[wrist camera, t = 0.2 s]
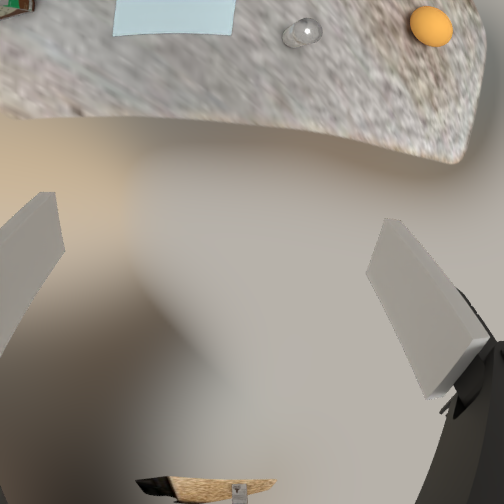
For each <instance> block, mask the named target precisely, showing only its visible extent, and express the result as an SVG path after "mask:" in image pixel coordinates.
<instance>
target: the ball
mask: <svg viewBox="0 0 504 504" xmlns="http://www.w3.org/2000/svg"><path fill="white" fill-rule="evenodd" d="M410 27H411V30H412V32H413V34H414V35H415V37H416V38H417V39H418V40H419V41H421V42H422V43H424V44H426V45H428V46H432V47H440V46H443V45H445V44H447V43H448V42H449V41H450V39H451V37H452V34H453V28H452V24H451V21H450V20H449V18H448V17H447V15H446V14H445V13H443V12H442V11H441V10H439V9H437V8H435V7H431V6H423V7H420V8H418V9H416V10H415V11H414V12H413V13H412V15H411V18H410Z"/></svg>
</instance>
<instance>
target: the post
mask: <svg viewBox="0 0 504 504" xmlns="http://www.w3.org/2000/svg"><path fill="white" fill-rule="evenodd" d="M321 36H322V27H321V25H320V24H319V23H318V22H317V21H316V20H314V19H311V18H303V19H301V20H299V21H298V22H296V23H295V24H293V25H292V26H290V27H289V28H288V29H286V30H285V31H284V32H283V35H282V39H283V42H284V43H285V44H286V45H287V46H288V47H291V48H297V47H301V46H304V45H308V44H311V43H315V42H317V41H318V40H319V39H320V38H321Z"/></svg>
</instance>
